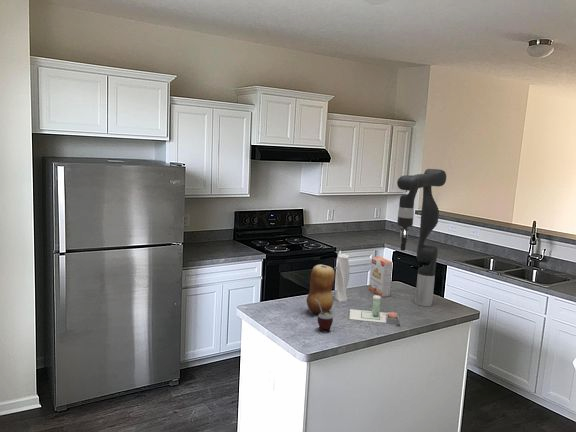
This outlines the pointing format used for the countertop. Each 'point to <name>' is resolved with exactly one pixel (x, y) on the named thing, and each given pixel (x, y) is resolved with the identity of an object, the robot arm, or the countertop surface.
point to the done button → (392, 315)
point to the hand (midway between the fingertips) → (402, 250)
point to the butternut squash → (321, 289)
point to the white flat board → (368, 316)
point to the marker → (376, 305)
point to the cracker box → (381, 276)
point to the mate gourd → (324, 320)
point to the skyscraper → (342, 277)
